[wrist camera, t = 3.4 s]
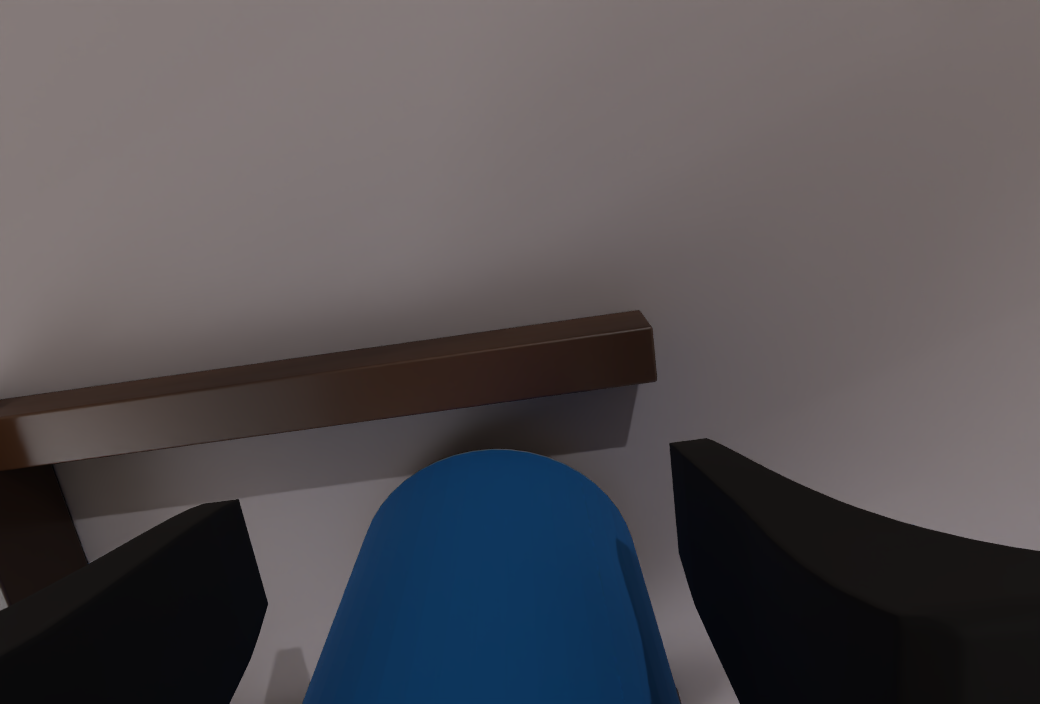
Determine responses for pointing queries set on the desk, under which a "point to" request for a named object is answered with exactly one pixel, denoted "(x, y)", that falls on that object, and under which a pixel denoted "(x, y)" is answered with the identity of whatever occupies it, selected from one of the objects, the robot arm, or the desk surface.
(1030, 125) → the desk surface
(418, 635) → the beverage can
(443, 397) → the can track
